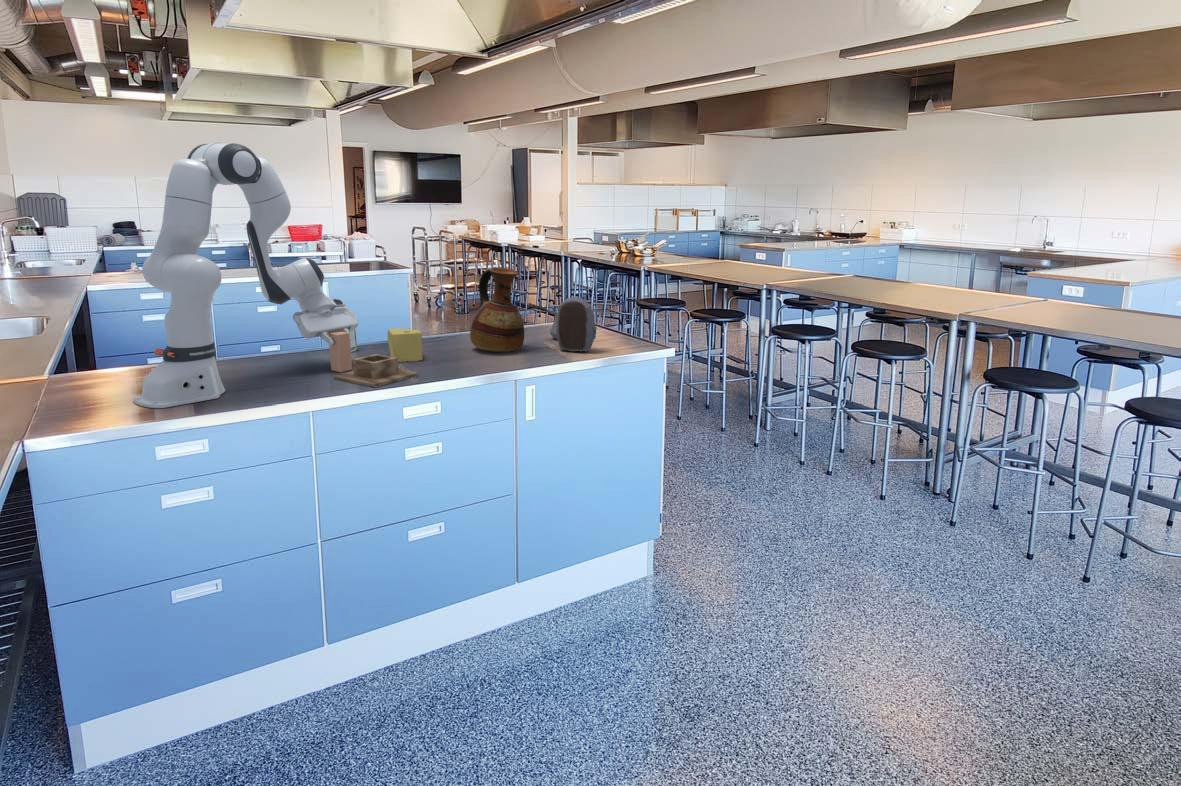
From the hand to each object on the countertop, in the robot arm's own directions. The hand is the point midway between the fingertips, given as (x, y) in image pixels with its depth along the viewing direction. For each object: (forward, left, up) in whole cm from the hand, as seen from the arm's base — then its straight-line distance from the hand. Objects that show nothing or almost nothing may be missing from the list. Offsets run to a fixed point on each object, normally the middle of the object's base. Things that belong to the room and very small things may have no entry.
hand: (340, 342), depth 234 cm
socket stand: (0, -15, -9) cm, 18 cm away
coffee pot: (+82, -24, -9) cm, 86 cm away
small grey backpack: (+70, -43, -9) cm, 83 cm away
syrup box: (+20, +23, -9) cm, 32 cm away
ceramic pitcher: (+54, -19, -9) cm, 58 cm away
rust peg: (0, +1, -9) cm, 9 cm away
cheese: (+24, -3, -9) cm, 26 cm away
